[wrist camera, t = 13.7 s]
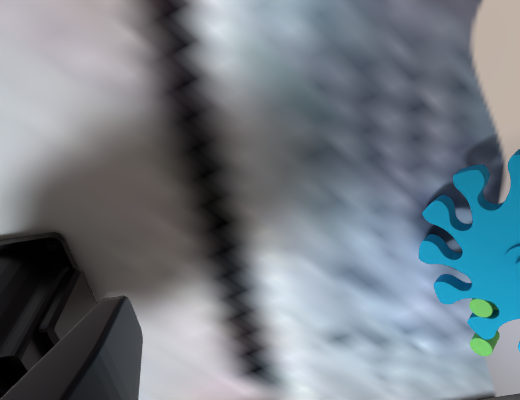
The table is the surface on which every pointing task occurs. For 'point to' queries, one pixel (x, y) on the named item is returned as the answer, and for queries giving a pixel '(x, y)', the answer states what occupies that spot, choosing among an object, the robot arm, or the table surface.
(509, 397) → the mouse tray
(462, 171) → the blue virus toy
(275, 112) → the table surface
